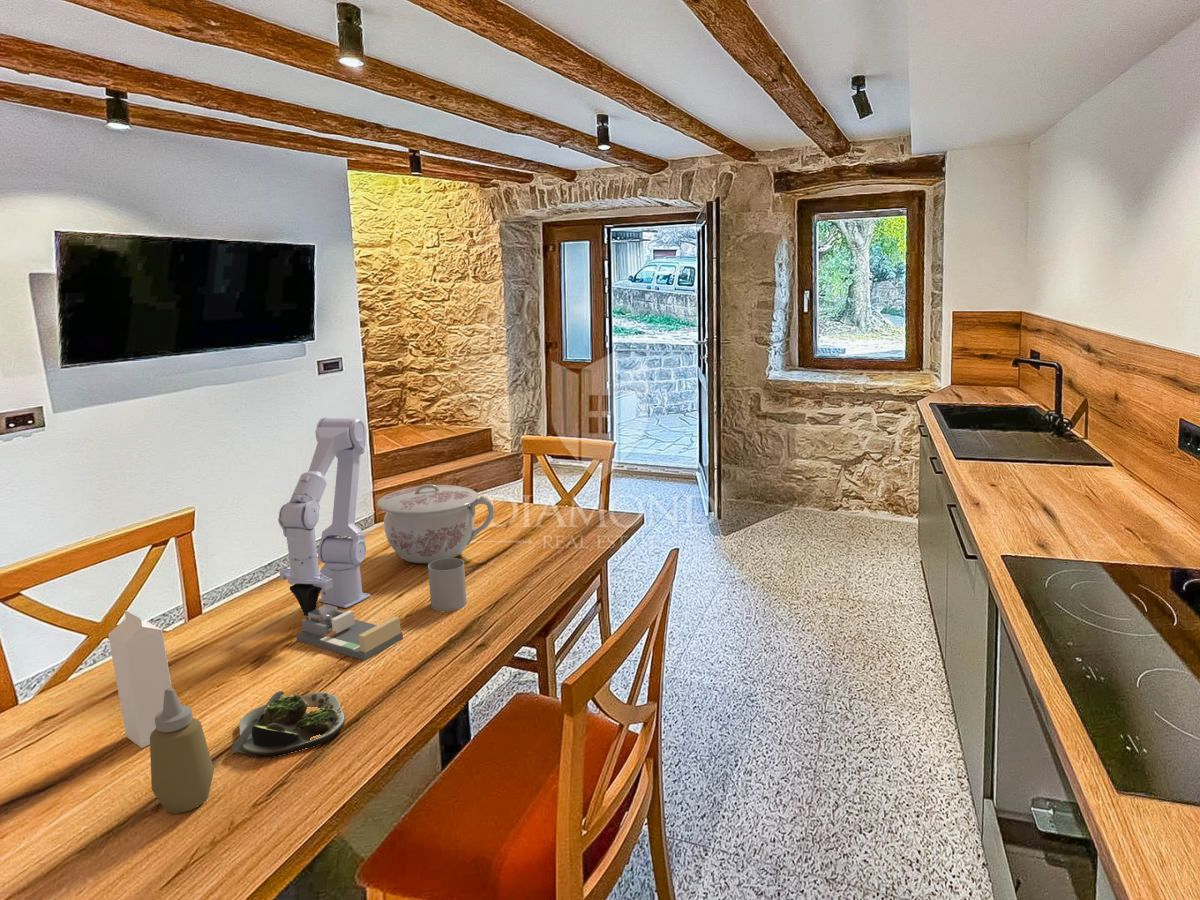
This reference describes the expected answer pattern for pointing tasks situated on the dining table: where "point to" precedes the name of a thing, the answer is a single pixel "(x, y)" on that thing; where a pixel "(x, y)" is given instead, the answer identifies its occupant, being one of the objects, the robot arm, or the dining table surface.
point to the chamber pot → (432, 521)
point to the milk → (139, 675)
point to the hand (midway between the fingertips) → (309, 614)
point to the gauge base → (352, 637)
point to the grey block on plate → (323, 615)
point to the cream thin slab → (342, 622)
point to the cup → (447, 584)
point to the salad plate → (289, 724)
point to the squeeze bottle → (179, 757)
